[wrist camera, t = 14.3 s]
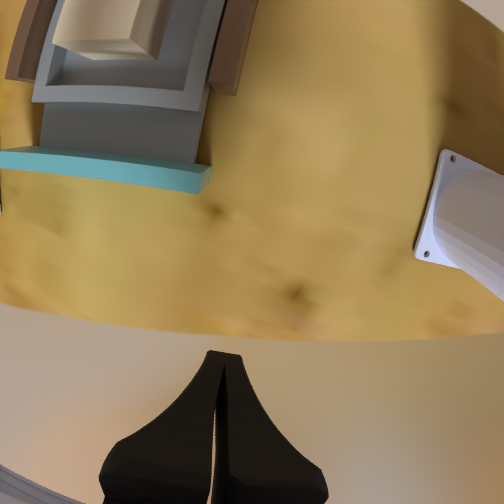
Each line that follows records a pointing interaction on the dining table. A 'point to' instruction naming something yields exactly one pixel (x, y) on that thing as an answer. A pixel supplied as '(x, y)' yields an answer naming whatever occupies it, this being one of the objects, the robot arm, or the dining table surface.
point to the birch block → (113, 28)
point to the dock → (224, 60)
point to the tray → (127, 107)
